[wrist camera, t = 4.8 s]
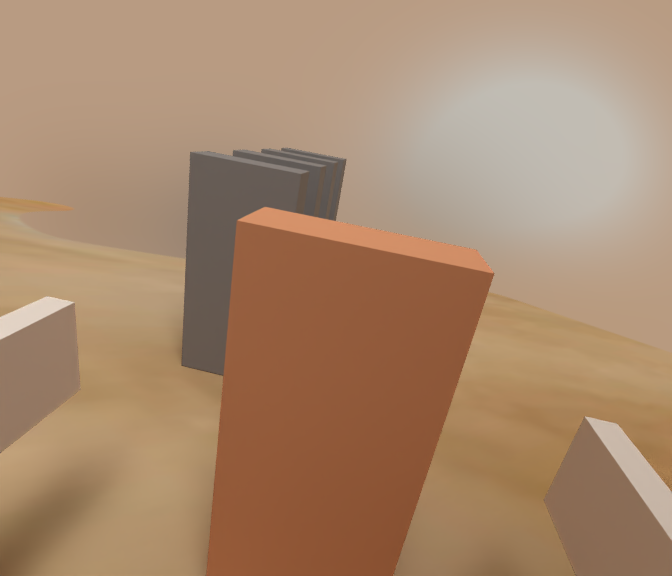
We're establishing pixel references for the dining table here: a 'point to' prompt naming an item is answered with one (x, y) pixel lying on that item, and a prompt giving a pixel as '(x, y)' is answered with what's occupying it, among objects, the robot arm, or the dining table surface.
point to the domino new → (334, 391)
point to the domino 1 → (224, 241)
